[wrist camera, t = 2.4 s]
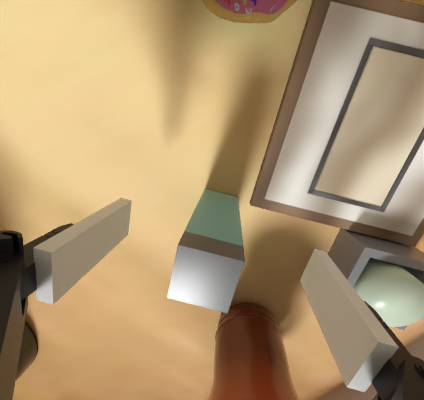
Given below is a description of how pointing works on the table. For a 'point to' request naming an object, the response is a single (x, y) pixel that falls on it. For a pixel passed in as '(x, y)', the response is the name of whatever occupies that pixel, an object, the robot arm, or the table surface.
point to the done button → (391, 292)
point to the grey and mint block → (209, 254)
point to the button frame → (373, 255)
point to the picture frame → (352, 122)
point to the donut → (248, 9)
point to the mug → (250, 357)
